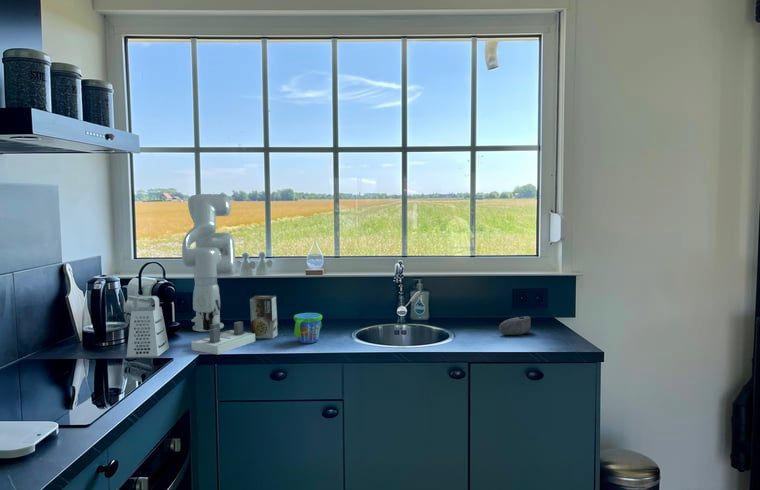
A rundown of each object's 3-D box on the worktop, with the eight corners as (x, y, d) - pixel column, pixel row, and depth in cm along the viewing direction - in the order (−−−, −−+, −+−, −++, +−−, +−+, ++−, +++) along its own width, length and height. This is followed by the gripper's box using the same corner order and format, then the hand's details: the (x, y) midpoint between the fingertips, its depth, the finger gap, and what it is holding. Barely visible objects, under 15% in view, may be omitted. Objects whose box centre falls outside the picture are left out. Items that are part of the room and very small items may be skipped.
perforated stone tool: (502, 337, 187) (502, 320, 186) (495, 334, 192) (495, 317, 192) (535, 334, 191) (535, 317, 191) (527, 331, 196) (528, 314, 196)
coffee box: (278, 334, 193) (277, 295, 192) (273, 339, 187) (272, 298, 186) (256, 334, 194) (255, 295, 193) (250, 338, 188) (249, 298, 187)
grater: (157, 356, 165) (155, 299, 164) (126, 357, 165) (123, 300, 163) (169, 347, 176) (166, 294, 174) (139, 348, 175) (137, 294, 174)
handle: (208, 342, 171) (208, 329, 171) (215, 339, 174) (214, 327, 174) (214, 343, 170) (214, 330, 170) (221, 340, 173) (220, 328, 173)
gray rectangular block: (232, 334, 182) (232, 322, 182) (238, 332, 185) (238, 321, 185) (238, 335, 181) (238, 323, 180) (244, 333, 184) (244, 321, 183)
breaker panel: (191, 349, 173) (191, 341, 173) (230, 337, 190) (230, 329, 190) (217, 354, 167) (217, 345, 167) (255, 341, 184) (255, 333, 184)
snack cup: (310, 335, 193) (310, 310, 192) (331, 338, 187) (331, 312, 187) (284, 344, 179) (283, 317, 179) (306, 348, 174) (305, 320, 173)
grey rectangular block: (209, 336, 180) (208, 324, 179) (215, 334, 182) (215, 322, 182) (214, 337, 178) (214, 325, 178) (221, 335, 181) (221, 323, 181)
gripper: (184, 281, 181) (186, 329, 182) (213, 284, 174) (214, 333, 175) (200, 279, 187) (201, 325, 188) (228, 281, 180) (229, 329, 181)
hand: (208, 329), depth 182 cm, fingers closed
